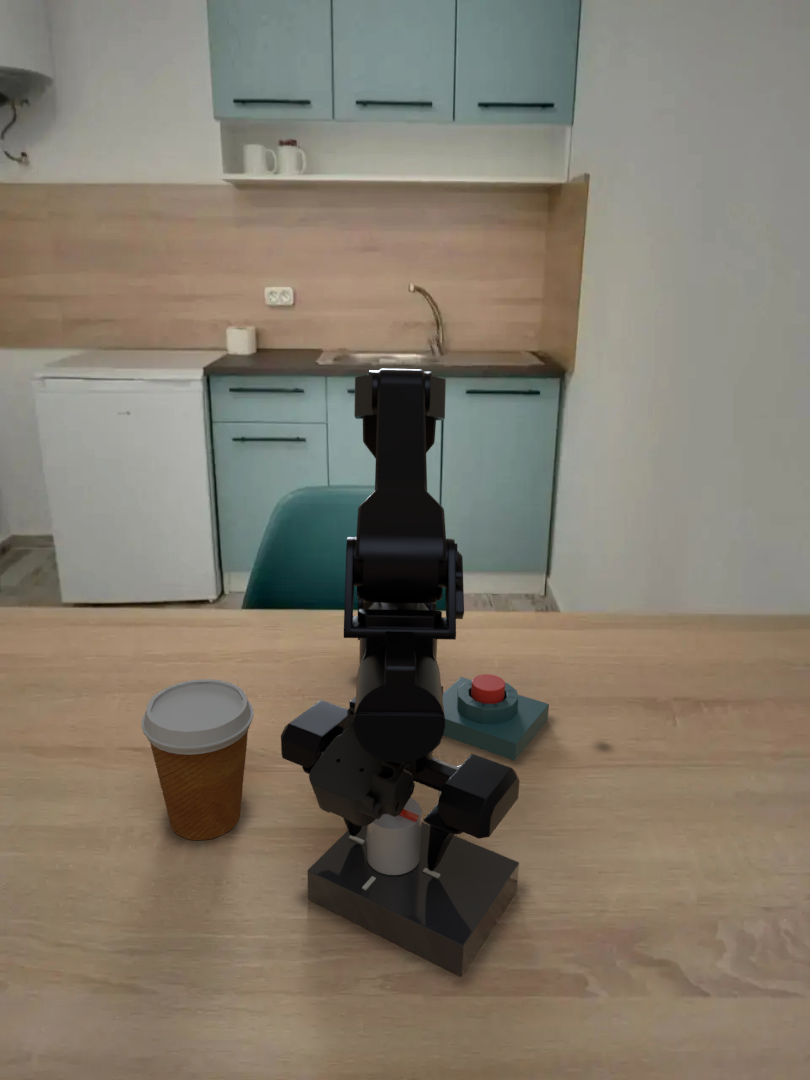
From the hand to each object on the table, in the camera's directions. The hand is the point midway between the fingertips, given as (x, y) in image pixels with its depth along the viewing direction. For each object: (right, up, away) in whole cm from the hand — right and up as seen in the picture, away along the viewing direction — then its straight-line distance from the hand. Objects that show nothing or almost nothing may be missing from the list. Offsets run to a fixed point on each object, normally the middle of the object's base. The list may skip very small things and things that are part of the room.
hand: (393, 850), depth 68 cm
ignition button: (+10, +8, +23) cm, 26 cm away
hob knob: (0, -1, 0) cm, 1 cm away
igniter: (+10, +5, +24) cm, 27 cm away
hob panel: (+2, -4, 0) cm, 4 cm away
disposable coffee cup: (-17, 0, +9) cm, 19 cm away
